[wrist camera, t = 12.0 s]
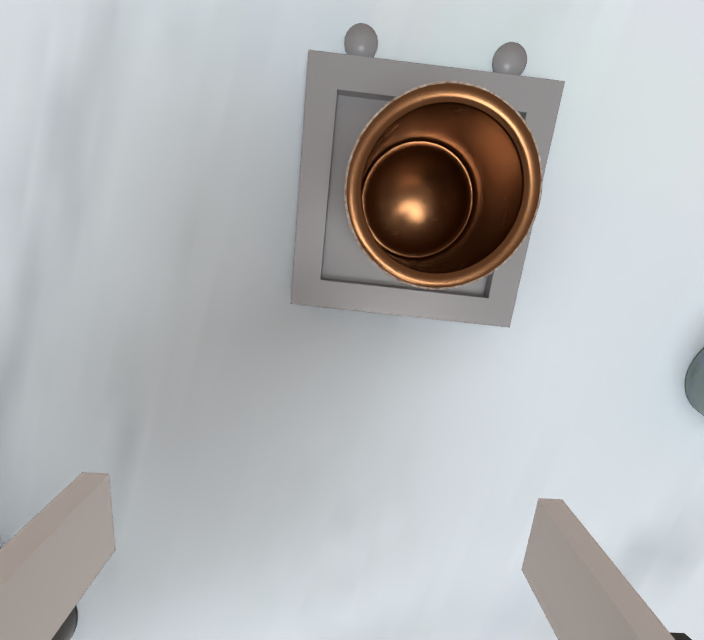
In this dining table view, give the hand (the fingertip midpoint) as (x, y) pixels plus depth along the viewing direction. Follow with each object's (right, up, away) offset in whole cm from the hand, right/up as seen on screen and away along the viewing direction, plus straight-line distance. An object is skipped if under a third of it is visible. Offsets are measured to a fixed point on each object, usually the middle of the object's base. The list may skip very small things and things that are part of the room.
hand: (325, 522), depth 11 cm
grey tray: (+6, +17, +18) cm, 26 cm away
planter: (+6, +16, +18) cm, 24 cm away
